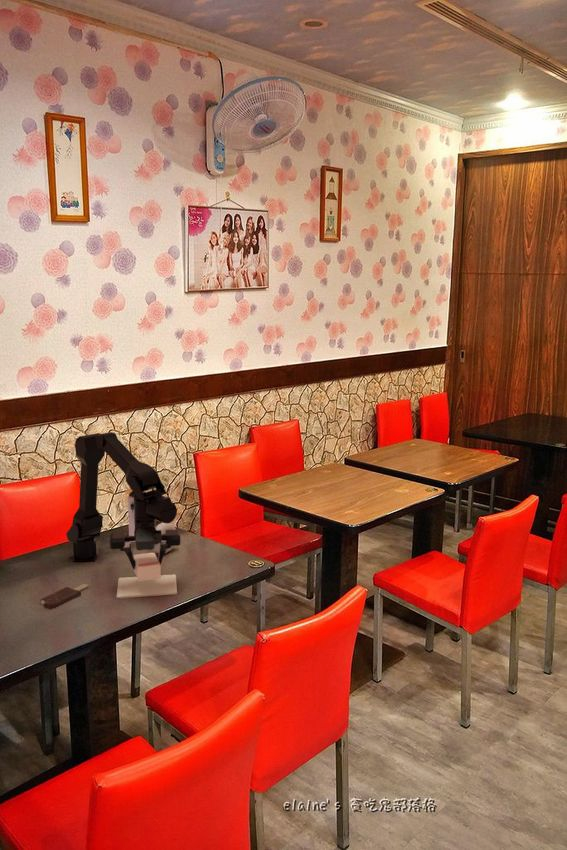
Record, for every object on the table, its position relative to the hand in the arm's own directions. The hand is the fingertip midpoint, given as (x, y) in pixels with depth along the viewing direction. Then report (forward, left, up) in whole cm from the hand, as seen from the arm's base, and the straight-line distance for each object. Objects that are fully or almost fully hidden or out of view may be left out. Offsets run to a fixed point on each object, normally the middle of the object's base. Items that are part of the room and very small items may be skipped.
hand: (146, 568), depth 196 cm
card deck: (0, 0, -2) cm, 2 cm away
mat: (0, 0, -6) cm, 6 cm away
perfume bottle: (-4, +39, -6) cm, 40 cm away
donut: (+5, +24, -6) cm, 25 cm away
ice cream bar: (-21, -3, -6) cm, 22 cm away
